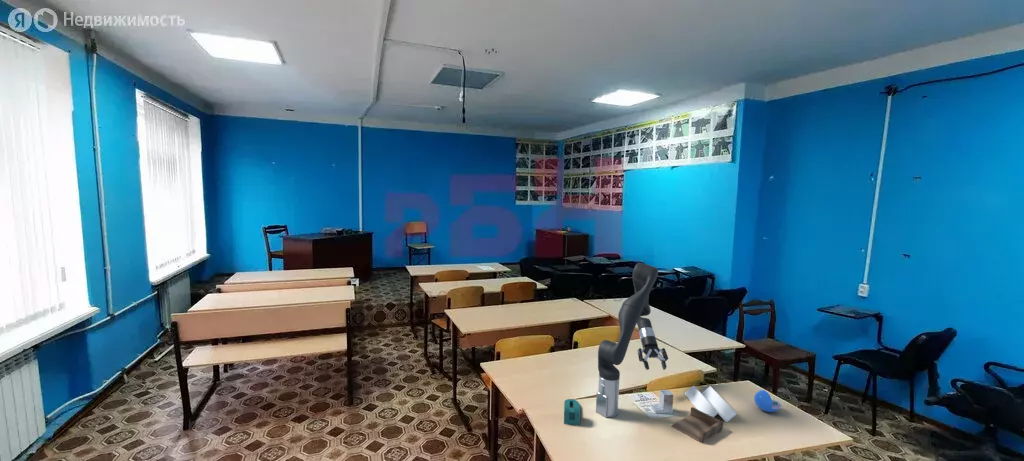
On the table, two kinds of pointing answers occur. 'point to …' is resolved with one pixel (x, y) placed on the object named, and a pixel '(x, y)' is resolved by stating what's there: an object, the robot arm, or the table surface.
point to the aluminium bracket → (664, 403)
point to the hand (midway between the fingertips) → (656, 369)
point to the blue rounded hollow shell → (766, 402)
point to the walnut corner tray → (699, 425)
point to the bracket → (571, 412)
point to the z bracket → (710, 403)
